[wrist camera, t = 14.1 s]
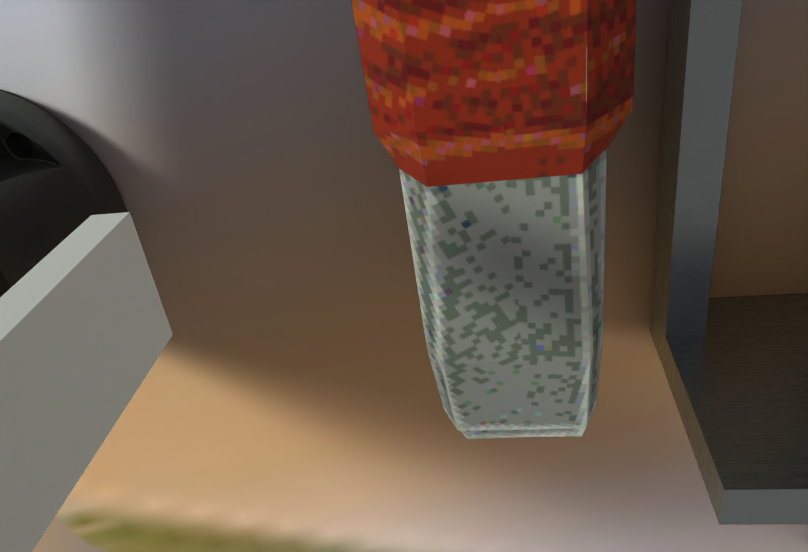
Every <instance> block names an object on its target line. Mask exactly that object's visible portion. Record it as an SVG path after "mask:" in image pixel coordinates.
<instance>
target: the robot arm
mask: <svg viewBox="0 0 808 552" xmlns="http://www.w3.org/2000/svg"><path fill="white" fill-rule="evenodd" d="M172 335H173V333H172V331H171V328H170V325H169V322H168V319H167V316H166V314H165V311H164V308H163V305H162V302H161V299H160V296H159V294H158V291H157V288H156V285H155V282H154V279H153V277H152V274H151V271H150V268H149V265H148V262H147V260H146V257H145V254H144V251H143V248H142V245H141V243H140V240H139V237H138V234H137V231H136V228H135V226H134V223H133V220H132V217H131V214H130V212H126V211H125V207H124V204H123V202H122V199H121V197H120V194H119V192H118V190H117V188H116V186H115V184H114V182H113V180H112V179H111V177H110V175H109V174H108V172H107V170H106V169H105V167H104V166H103V165H102V163H101V162H100V160H99V159H98V158H97V157H96V155H95V154H94V153H93V152H92V151H91V149H90V148H89V147H88V146H87V145H86V144H85V143H84V142H83V141H82V140H81V139H80V138H79V137H78V136H77V135H76V134H75V133H74V132H72V131H71V130H70V129H69V128H68V127H67V126H65V125H64V124H63V123H62V122H60V121H59V120H58V119H56V118H55V117H53V116H52V115H50V114H49V113H47V112H46V111H44V110H42V109H41V108H39V107H37V106H35V105H33V104H32V103H30V102H28V101H26V100H23V99H21V98H19V97H17V96H14V95H11V94H9V93H6V92H3V91H0V552H32V551H33V549H34V548H35V546H36V545H37V543H38V542H39V540H40V538H41V537H42V535H43V534H44V532H45V531H46V529H47V528H48V526H49V525H50V523H51V521H52V520H53V518H54V517H55V515H56V514H57V512H58V511H59V509H60V508H61V506H62V505H63V503H64V501H65V500H66V498H67V497H68V495H69V494H70V492H71V491H72V489H73V488H74V486H75V485H76V483H77V481H78V480H79V478H80V477H81V475H82V474H83V472H84V471H85V469H86V468H87V466H88V464H89V463H90V461H91V460H92V458H93V457H94V455H95V454H96V452H97V451H98V449H99V448H100V446H101V444H102V443H103V441H104V440H105V438H106V437H107V435H108V434H109V432H110V431H111V429H112V427H113V426H114V424H115V423H116V421H117V420H118V418H119V417H120V415H121V414H122V412H123V410H124V409H125V407H126V406H127V404H128V403H129V401H130V400H131V398H132V397H133V395H134V394H135V392H136V390H137V389H138V387H139V386H140V384H141V383H142V381H143V380H144V378H145V377H146V375H147V373H148V372H149V370H150V369H151V367H152V366H153V364H154V363H155V361H156V360H157V358H158V357H159V355H160V353H161V352H162V350H163V349H164V347H165V346H166V344H167V343H168V341H169V340H170V338H171V336H172Z"/></svg>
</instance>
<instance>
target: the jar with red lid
mask: <svg viewBox="0 0 808 552" xmlns="http://www.w3.org/2000/svg"><path fill="white" fill-rule="evenodd" d="M351 2H352V8H353V14H354V20H355V26H356V32H357V38H358V43H359V49H360V55H361V61H362V67H363V73H364V79H365V84H366V90H367V96H368V102H369V108H370V114H371V119H372V125H373V131H374V133H375V135H376V136H377V138H378V139H379V140H380V142H381V143H382V145H383V146H384V148H385V149H386V151H387V152H388V153H389V155H390V156H391V158H392V159H393V161H394V162H395V164H396V165H397V166H398V168H399V172H400V179H401V185H402V191H403V198H404V204H405V211H406V217H407V224H408V230H409V237H410V243H411V249H412V256H413V262H414V269H415V275H416V282H417V288H418V295H419V301H420V307H421V314H422V320H423V327H424V333H425V340H426V346H427V352H428V356H429V359H430V363H431V366H432V370H433V373H434V377H435V380H436V384H437V387H438V391H439V394H440V398H441V401H442V405H443V408H444V410H445V412H446V413H447V415H448V416H449V418H450V419H451V421H452V422H453V424H454V425H455V427H456V428H457V430H458V431H461V432H462V433H463V435H464V436H465V437H466V438H467V439H486V438H513V437H578V436H582V435H583V433H584V431H585V428H586V427H587V425H588V423H589V420H590V418H591V415H592V413H593V410H594V408H595V405H596V398H597V388H598V378H599V368H600V358H601V348H602V338H603V309H604V259H605V209H606V158H607V147H608V145H609V144H610V142H611V141H612V140H613V138H614V137H615V135H616V134H617V132H618V131H619V129H620V128H621V126H622V125H623V123H624V122H625V120H626V119H627V117H628V116H629V114H630V113H631V112H632V110H633V88H634V55H635V22H636V0H351Z"/></svg>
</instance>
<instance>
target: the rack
mask: <svg viewBox="0 0 808 552" xmlns="http://www.w3.org/2000/svg"><path fill="white" fill-rule="evenodd" d="M741 9H742V0H670V15H669V31H668V47H667V63H666V79H665V94H664V110H663V126H662V142H661V157H660V173H659V189H658V205H657V221H656V236H655V252H654V268H653V284H652V300H651V315H650V333H651V335H652V338H653V341H654V344H655V346H656V349H657V352H658V355H659V358H660V360H661V363H662V366H663V369H664V372H665V374H666V377H667V380H668V383H669V385H670V388H671V391H672V394H673V397H674V399H675V402H676V405H677V408H678V410H679V413H680V416H681V419H682V422H683V424H684V427H685V430H686V433H687V435H688V438H689V441H690V444H691V447H692V449H693V452H694V455H695V458H696V461H697V463H698V466H699V469H700V472H701V474H702V477H703V480H704V483H705V486H706V488H707V491H708V494H709V497H710V499H711V502H712V505H713V508H714V511H715V513H716V516H717V519H718V522H719V524H808V293H807V294H787V295H767V296H746V297H726V298H709V295H710V286H711V277H712V268H713V259H714V250H715V241H716V233H717V224H718V215H719V206H720V197H721V188H722V179H723V170H724V161H725V152H726V143H727V134H728V125H729V116H730V107H731V98H732V90H733V81H734V72H735V63H736V54H737V45H738V36H739V27H740V18H741Z"/></svg>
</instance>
